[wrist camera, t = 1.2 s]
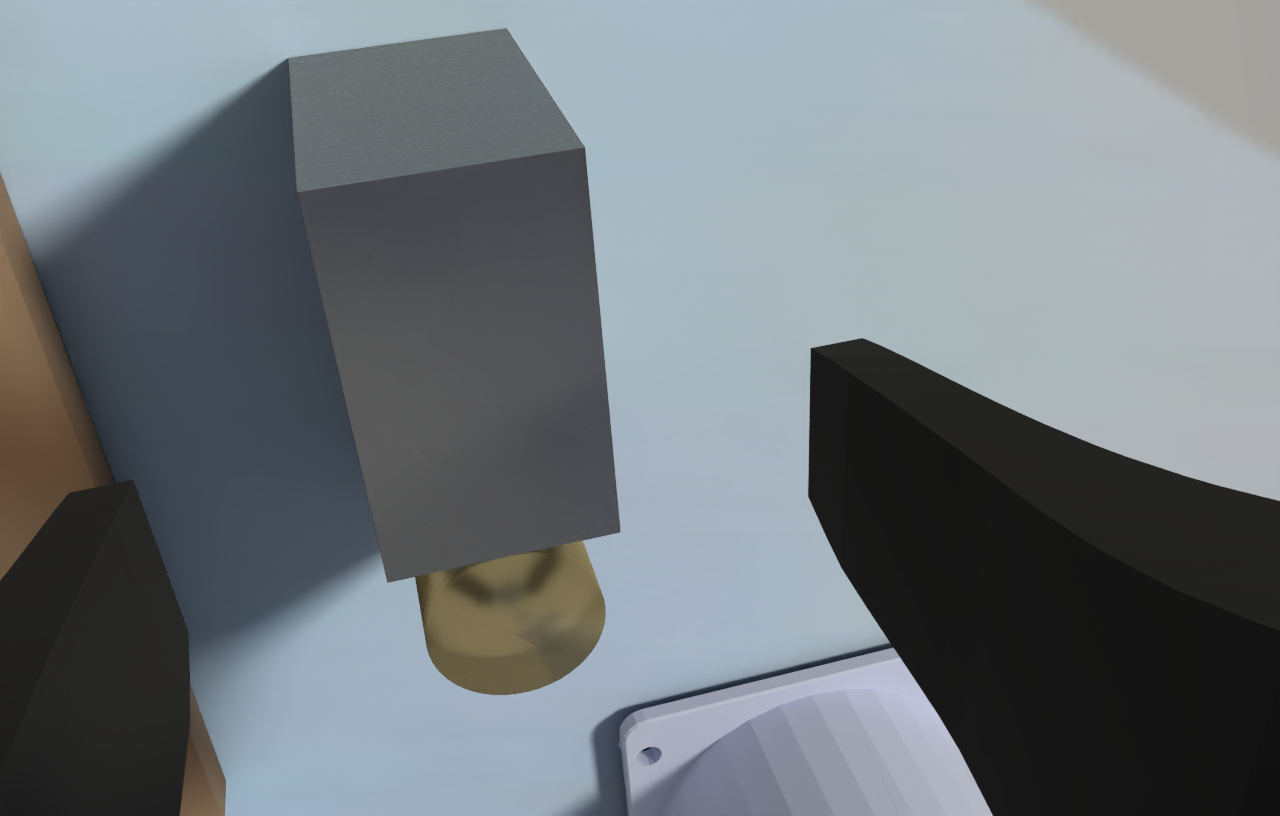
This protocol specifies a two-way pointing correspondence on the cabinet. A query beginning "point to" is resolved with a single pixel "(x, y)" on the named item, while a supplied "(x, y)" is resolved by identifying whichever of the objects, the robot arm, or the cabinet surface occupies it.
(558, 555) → the grey post
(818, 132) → the cabinet surface
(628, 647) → the cabinet surface
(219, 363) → the cabinet surface
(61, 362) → the hinge jig
